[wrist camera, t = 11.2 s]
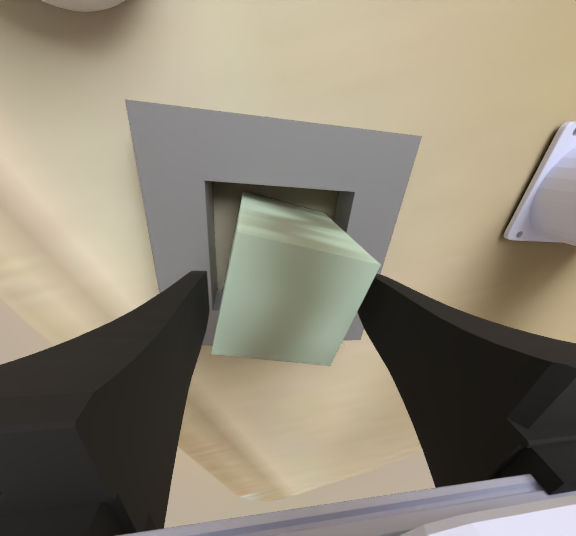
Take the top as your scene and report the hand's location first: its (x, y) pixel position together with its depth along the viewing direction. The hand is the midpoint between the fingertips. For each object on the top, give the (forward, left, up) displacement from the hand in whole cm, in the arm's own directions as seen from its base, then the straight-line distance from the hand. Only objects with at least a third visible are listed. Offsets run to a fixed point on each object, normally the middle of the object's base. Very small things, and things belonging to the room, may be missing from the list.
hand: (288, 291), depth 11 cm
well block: (0, 0, -7) cm, 7 cm away
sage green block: (0, 0, -7) cm, 7 cm away
